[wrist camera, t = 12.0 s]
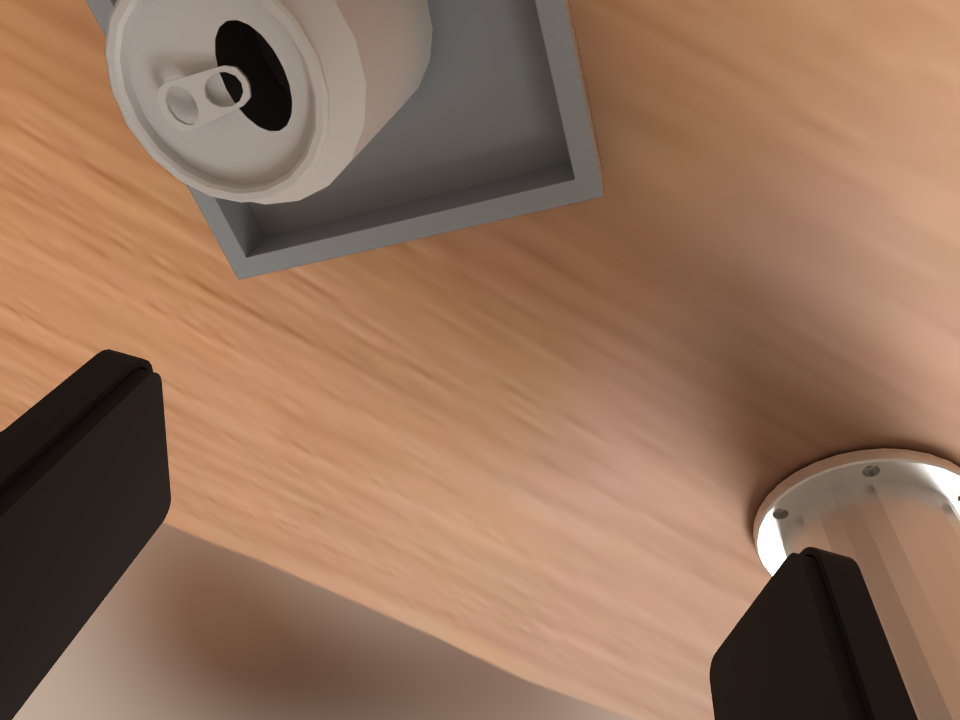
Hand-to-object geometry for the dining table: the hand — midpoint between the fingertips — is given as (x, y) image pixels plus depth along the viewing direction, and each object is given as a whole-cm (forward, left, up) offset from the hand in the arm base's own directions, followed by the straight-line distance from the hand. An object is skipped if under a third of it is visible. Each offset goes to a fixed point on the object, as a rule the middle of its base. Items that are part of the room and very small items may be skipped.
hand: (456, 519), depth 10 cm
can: (+5, +7, -23) cm, 25 cm away
